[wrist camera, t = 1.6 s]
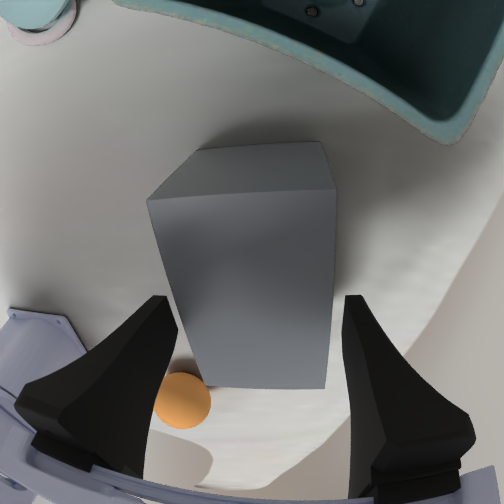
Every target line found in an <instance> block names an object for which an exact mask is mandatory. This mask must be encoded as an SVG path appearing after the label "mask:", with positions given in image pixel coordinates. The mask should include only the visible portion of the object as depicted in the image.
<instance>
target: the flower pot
mask: <svg viewBox="0 0 504 504" xmlns="http://www.w3.org/2000/svg"><path fill="white" fill-rule="evenodd" d="M112 1H113V2H114V3H115V4H116V5H119V6H121V7H125V8H129V9H134V10H139V11H146V12H154V13H158V14H162V15H167V16H171V17H175V18H179V19H183V20H187V21H191V22H195V23H198V24H201V25H205V26H209V27H212V28H216V29H219V30H222V31H224V32H228V33H231V34H234V35H236V36H239V37H242V38H245V39H248V40H251V41H254V42H256V43H259V44H262V45H264V46H267V47H269V48H271V49H273V50H276V51H278V52H281V53H283V54H286V55H288V56H290V57H293V58H295V59H297V60H299V61H301V62H303V63H306V64H308V65H310V66H312V67H314V68H316V69H318V70H320V71H322V72H324V73H326V74H328V75H330V76H332V77H334V78H336V79H338V80H340V81H342V82H343V83H345V84H347V85H349V86H351V87H353V88H354V89H356V90H358V91H360V92H361V93H363V94H365V95H366V96H368V97H370V98H371V99H373V100H374V101H376V102H378V103H379V104H381V105H383V106H384V107H386V108H388V109H389V110H390V111H392V112H393V113H395V114H397V115H398V116H400V117H401V118H402V119H404V120H405V121H407V122H408V123H409V124H410V125H411V126H413V127H414V128H416V129H417V130H419V131H420V132H422V133H423V134H425V135H426V136H427V137H429V138H430V139H432V140H433V141H435V142H437V143H440V144H442V145H452V144H454V143H457V142H458V141H459V140H460V139H461V138H462V136H463V135H464V133H465V132H466V131H467V129H468V128H469V126H470V124H471V123H472V122H473V120H474V117H475V115H476V113H477V111H478V109H479V107H480V105H481V104H482V102H483V100H484V98H485V96H486V94H487V91H488V89H489V87H490V85H491V84H492V82H493V80H494V78H495V75H496V73H497V70H498V68H499V66H500V64H501V63H502V61H503V58H504V0H363V4H362V5H361V6H357V5H355V4H354V3H353V0H112ZM309 7H314V8H316V9H317V11H318V14H317V15H316V16H309V15H308V14H307V12H306V10H307V8H309Z"/></svg>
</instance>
